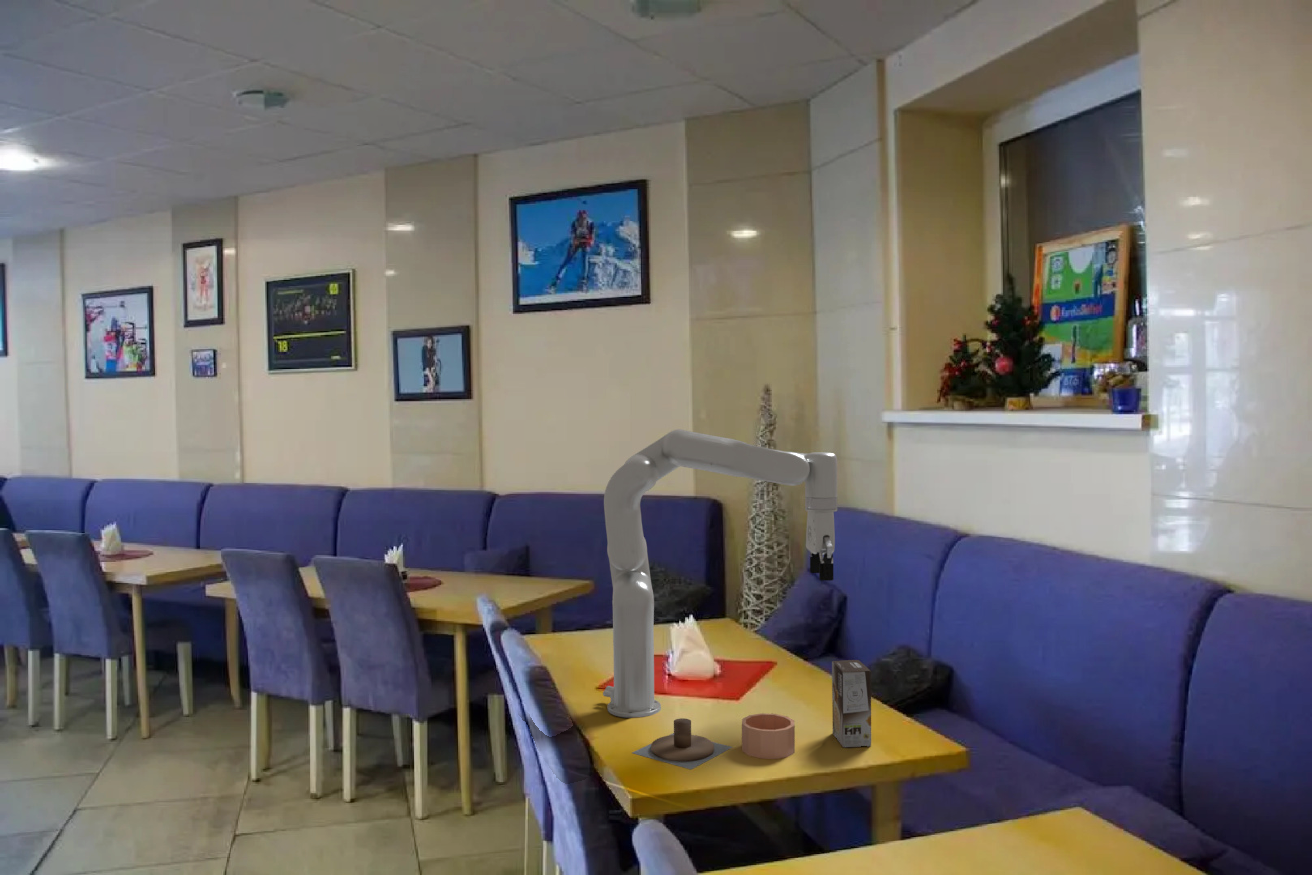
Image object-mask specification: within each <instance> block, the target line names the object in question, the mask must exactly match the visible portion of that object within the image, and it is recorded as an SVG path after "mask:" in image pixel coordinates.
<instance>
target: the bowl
mask: <svg viewBox="0 0 1312 875" xmlns="http://www.w3.org/2000/svg"><path fill="white" fill-rule="evenodd" d="M795 727H796V726H795V719H793V718H790V717H789V716H787V715H784V714H783V715H781V714H778V713H764V712H762V713H757V714H755V713H754V714H749V715H747V716H745V717H743V718H742V719H741V751H742V752H743V753H744V754H745V755H746V756H747V755H748V756H750V757H753V758H757V759H762V760H763V759H767V760H768V759H769V760H777V759H783V758H788V757H790V756H791V755H793V754H795V752H796V749H795V748H796V747H795V746H796V744H795V742H796V741H795V740H796V739H795V737H796V735H795V734H796V732H795Z"/></svg>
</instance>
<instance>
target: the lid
mask: <svg viewBox="0 0 1312 875" xmlns="http://www.w3.org/2000/svg"><path fill="white" fill-rule="evenodd" d="M673 733H674V735H670V734H668V735H664V736H660V737H659V738H656V739H655V740H653V741H652V742H651V743H652V744H651V743H650V744H651V751H652V753H653V754H654V755H655V756H657V757H659V758H661V759H665V760H669V761H678V762H688V761H696V760H701V759H704V758H707V757H709V756H710V755H712V754H713V752H714V744H713V742H714V741H712V740H710V739H709V738H707V737H704V736H700V735H696V734H695V735H694V734H692V720H691V719H689V718H675V719H674V720H673Z"/></svg>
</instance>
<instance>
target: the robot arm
mask: <svg viewBox="0 0 1312 875" xmlns="http://www.w3.org/2000/svg"><path fill="white" fill-rule="evenodd" d="M680 467H683V468H688V469H693V470H701V471H705V472H711V473H715V474H722V475H727V476H732V477H736V478H737V477H739V478H748V479H754V480H759V481H763V482H769V483H775V484H780V485H784V486H785V485H786V486H791V487H793V486H794V487H795V486H799V485H802V484H803V483H804V510H805V512H807V516H806V531H805V532H806V535H805V547H806V549H807V550H808V552H809V555H810V556H809V572H810V573H811V574H818V575H819V576H818V577H819V581H821V582H822V581H823V582H824V581H825V582H826V581H827V582H828V581H829V582H831V581H833V580H834V552H835V549H836V548H835V547H836V546H835V544H836V539H835V532H836V531H835V530H836V529H835V517H834V516H835V514H834V513H835V512H837V511H838V458H837V455H836V454H835V453H833V452H830V451H829V452H827V451H826V452H824V451H823V452H821V451H820V452H819V451H816V452H810V453H806V452H797V451H796V452H795V451H784V450H778V449H773V448H767V447H763V446H757V445H754V444H750V443H747V442H744V441H742V440H737V439H733V438H728V437H722V436H716V435H711V434H706V433H700V432H696V431H689V430H685V429H679V428H678V429H673V430H671V431H669V432H667V433H666V434H664V435H663V436H662V437H660V438H658V440H656V441H654V442H652V443H651V444H649V445H648V446H646V447H645V448H643V449H641V450H640V451H638V452H637V453H635V454H633V455H632V456H630V457H629V458H628V459H627V460H626V461H625V462H624V464H623V465H621V466H620V467H619V468H618V469H617V470H616V471H615V472H614V473H613V474H612V475H611V477H610V479H609V481H608V483H607V485H606V487H605V491H604V495H603V509H604V522H605V530H606V539H607V548H606V549H607V556H608V562H609V570H610V577H611V584H612V601H611V602H612V642H613V644H612V645H613V686H611V685H606V687H605V689H604V690H603V692H602V695H603V696H604V697H607V698H610V702H609V703H608V704H607V712H608V713H609V714H611V715H613V716H615V717H619V718H628V719H632V718H644V717H650V716H654V715H655V714H658V713H659V712H660V711H661V709H662V704H661V702H659V701H658V700H657V699H655V645H654V644H655V643H654V642H655V640H654V639H655V638H654V636H655V635H654V622H655V620H654V617H655V615H654V614H655V612H654V611H655V595H654V591H653V586H652V580H651V579H652V578H651V572H650V565H649V564H650V563H649V562H650V561H649V555H648V546H647V540H646V538H645V537H644V529H643V524H642V523H643V522H642V512H641V511H642V510H641V501H642V497H643V496H644V494H645V493H646V492H648V491H650V490H651V489H652V488H653V487H654V486H655V485H656V483H657V482H658V481H659V480H661V479H662V478H664V477H666V476H667V475H669V474H671V473H673V471H675V470H677V469H678V468H680Z"/></svg>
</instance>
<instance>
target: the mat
mask: <svg viewBox="0 0 1312 875" xmlns="http://www.w3.org/2000/svg"><path fill="white" fill-rule="evenodd" d="M669 735H674V732H673V733H671V734H669ZM712 742H713V744H714V752H713V754H712V755H710V756H709V757H707V758H704V759H701V760H696V761H688V762H678V761H669V760H665V759H661V758H659V757H657V756H655V755H654V754H653V753H652V751H651V744H652V742H650V743H649V744H647V745H645V746H643V747H641V748H639V749H637V750H635V751H632V752H631V754H633V755H634V754H635V755H637V756H641V757H645V758H649V759H653V760H655V761H659V762H662V763H666V764H670V765H673V766H677V767H680V768H684V769H687V770H694V769H695V768H697V767H699V766H700V765H702V764H704V763H707V762H708V761H710V760H712V759H714V758H716V757H717V756H719V755H721V754H723V753H725V752H726V751H727V752H728V750H730V749H732V748H733V746H730V745H726V744H722V743H718V742H716V741H715V742H714V741H712Z"/></svg>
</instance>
